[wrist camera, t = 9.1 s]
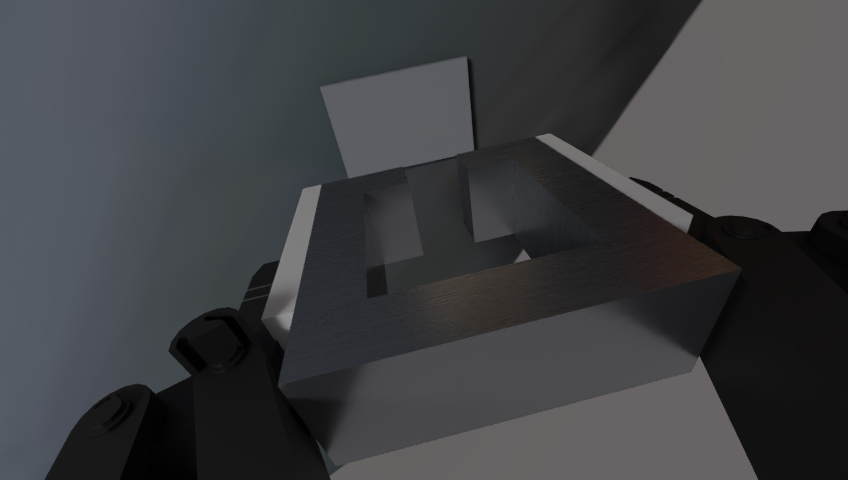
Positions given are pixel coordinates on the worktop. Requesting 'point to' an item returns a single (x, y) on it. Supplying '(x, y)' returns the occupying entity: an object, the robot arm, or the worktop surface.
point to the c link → (490, 304)
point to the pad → (401, 116)
